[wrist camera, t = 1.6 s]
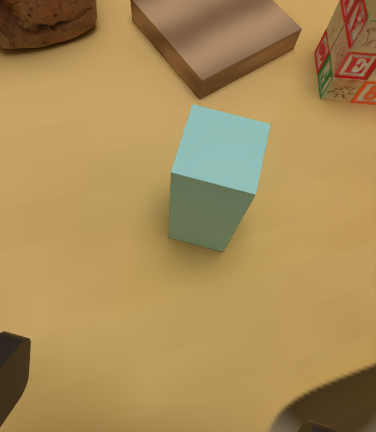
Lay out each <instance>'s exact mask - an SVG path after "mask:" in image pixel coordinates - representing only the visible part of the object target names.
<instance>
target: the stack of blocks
mask: <svg viewBox="0 0 376 432" xmlns="http://www.w3.org/2000/svg"><path fill="white" fill-rule="evenodd" d="M315 59H316V68H317V75H318V82H319V91H320V99H322V100H334V101H346V102H351V103H362V104H375V105H376V0H340V1H339V3H338V5H337V8H336V10H335V12H334V14H333V16H332V18H331V20H330V22H329V25H328V27H327V29H326V30H325V32H324V34H323V36H322V38H321V41H320V43H319V44H318V46H317V48H316V51H315Z"/></svg>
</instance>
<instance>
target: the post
mask: <svg viewBox="0 0 376 432" xmlns="http://www.w3.org/2000/svg"><path fill="white" fill-rule="evenodd" d="M269 129H270V124H268V123H264V122H260V121H256V120H252V119H248V118H244V117H241V116H237V115H233V114H229V113H225V112H221V111H217V110H213V109H209V108H205V107H201V106H197V105H192V108H191V111H190V114H189V117H188V120H187V123H186V127H185V130H184V133H183V136H182V139H181V142H180V145H179V149H178V152H177V155H176V158H175V161H174V164H173V167H172V170H171V185H170V215H169V238H172V239H176V240H180V241H183V242H187V243H191V244H194V245H198V246H202V247H206V248H209V249H213V250H217V251H220V252H223V251H224V249H225V248H226V246H227V244H228V242H229V241H230V239H231V237H232V235H233V234H234V232H235V230H236V228H237V227H238V225H239V223H240V221H241V220H242V218H243V216H244V214H245V213H246V211H247V209H248V207H249V205H250V204H251V202H252V200H253V198H254V197H255V195H256V191H257V186H258V181H259V176H260V172H261V167H262V162H263V157H264V153H265V148H266V143H267V138H268V134H269Z"/></svg>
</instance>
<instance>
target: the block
mask: <svg viewBox="0 0 376 432" xmlns="http://www.w3.org/2000/svg"><path fill="white" fill-rule="evenodd" d="M96 19H97V9H96V0H0V47H2V48H4V49H19V48H38V47H44V46H47V45H51V44H54V43H58V42H63V41H67V40H70V39H73V38H76V37H77V36H79V35H81V34H83V33H84V32H86V31H88V30H89V29H90V28H91V27H92V26H93V25H94V23H95V22H96Z"/></svg>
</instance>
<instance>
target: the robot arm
mask: <svg viewBox="0 0 376 432" xmlns="http://www.w3.org/2000/svg"><path fill="white" fill-rule="evenodd" d="M30 346H31V341H30V339H29V338H26V337H22V336H19V335H15V334H12V333H9V332H5V331H4V332H1V333H0V427H1V425H2V424H3V422H4V421H5V419H6V418H7V416H8V415H9V414H10V412H11V411H12V409H13V408H14V406H15V405H16V403H17V402H18V400H19V399H20V397H21V396H22V394H23V392H24V390H25V387H26V384H27V381H28V377H29V363H30ZM298 432H337V431H336V430H335V428H334V427H331V426H327V425H324V424H320V423H317V422H313V421H310V420H305V421H304V422H303V423H302V425H301V427H300V429H299V431H298Z"/></svg>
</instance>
